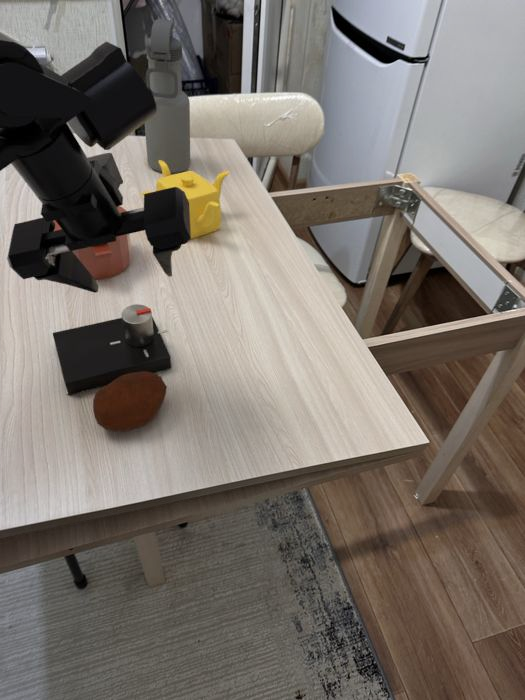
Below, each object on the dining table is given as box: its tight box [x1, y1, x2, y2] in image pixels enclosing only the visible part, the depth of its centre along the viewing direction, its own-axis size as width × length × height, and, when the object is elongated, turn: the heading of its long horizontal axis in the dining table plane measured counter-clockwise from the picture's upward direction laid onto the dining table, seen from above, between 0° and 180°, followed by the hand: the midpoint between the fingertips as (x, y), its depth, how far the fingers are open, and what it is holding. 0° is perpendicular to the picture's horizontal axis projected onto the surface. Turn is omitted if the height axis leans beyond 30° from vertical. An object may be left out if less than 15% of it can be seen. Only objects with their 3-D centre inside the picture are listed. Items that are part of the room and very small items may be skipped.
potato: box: [92, 371, 168, 432], centre depth 60 cm, size 7×9×6 cm
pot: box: [72, 234, 133, 280], centre depth 82 cm, size 11×17×7 cm
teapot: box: [140, 160, 230, 240], centre depth 93 cm, size 15×14×10 cm
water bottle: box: [144, 18, 191, 174], centre depth 103 cm, size 10×10×28 cm
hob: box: [52, 316, 172, 396], centre depth 69 cm, size 15×10×3 cm, turn 115°
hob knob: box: [121, 304, 154, 347], centre depth 67 cm, size 4×4×5 cm
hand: (133, 281), depth 57 cm, fingers open, 9 cm apart
